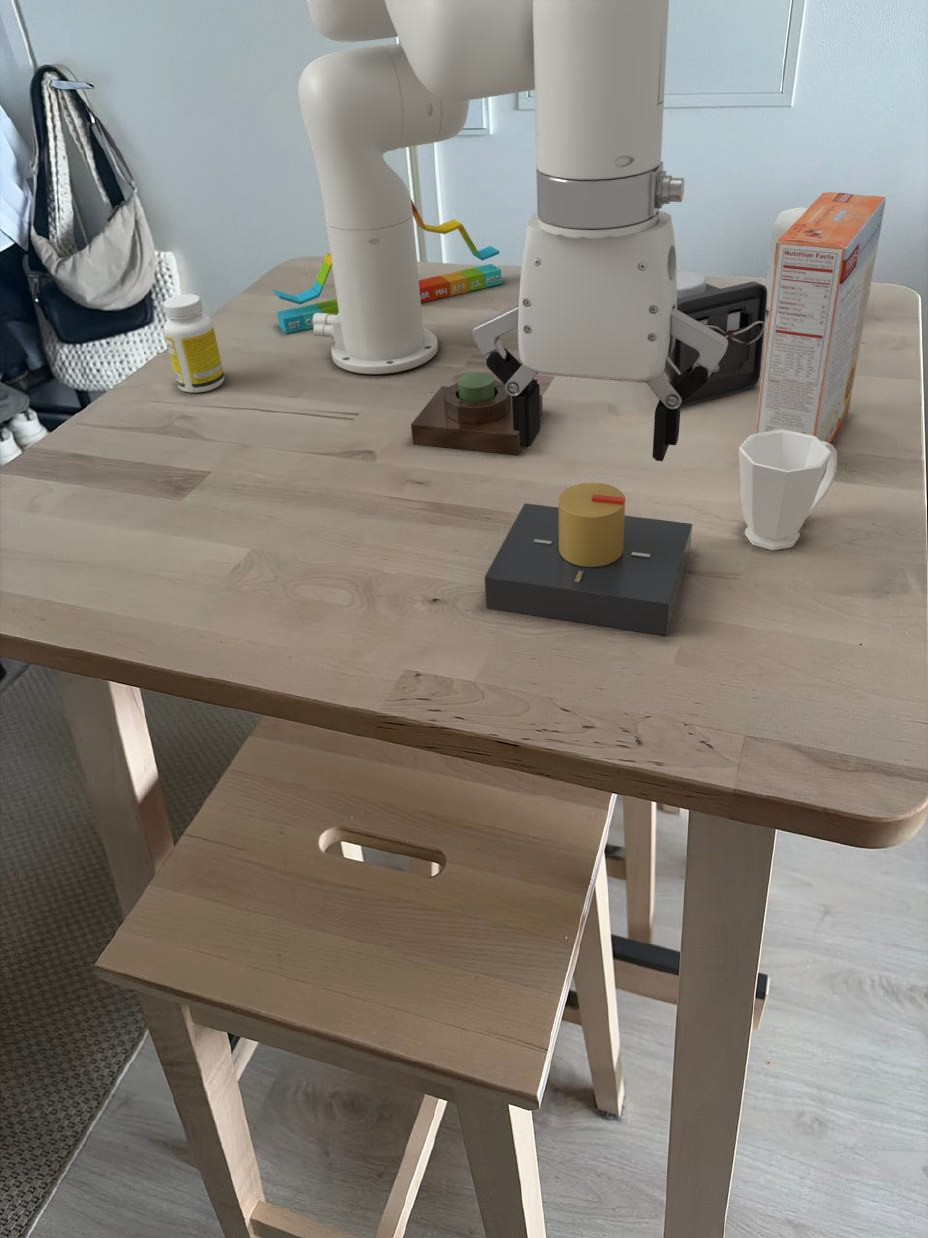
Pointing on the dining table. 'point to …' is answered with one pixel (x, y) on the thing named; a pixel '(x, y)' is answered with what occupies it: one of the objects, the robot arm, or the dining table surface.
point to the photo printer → (779, 229)
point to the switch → (476, 387)
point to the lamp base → (468, 422)
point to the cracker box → (818, 314)
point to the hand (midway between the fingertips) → (594, 445)
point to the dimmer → (591, 524)
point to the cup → (782, 484)
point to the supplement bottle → (192, 345)
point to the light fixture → (723, 332)
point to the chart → (428, 287)
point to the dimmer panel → (590, 574)
